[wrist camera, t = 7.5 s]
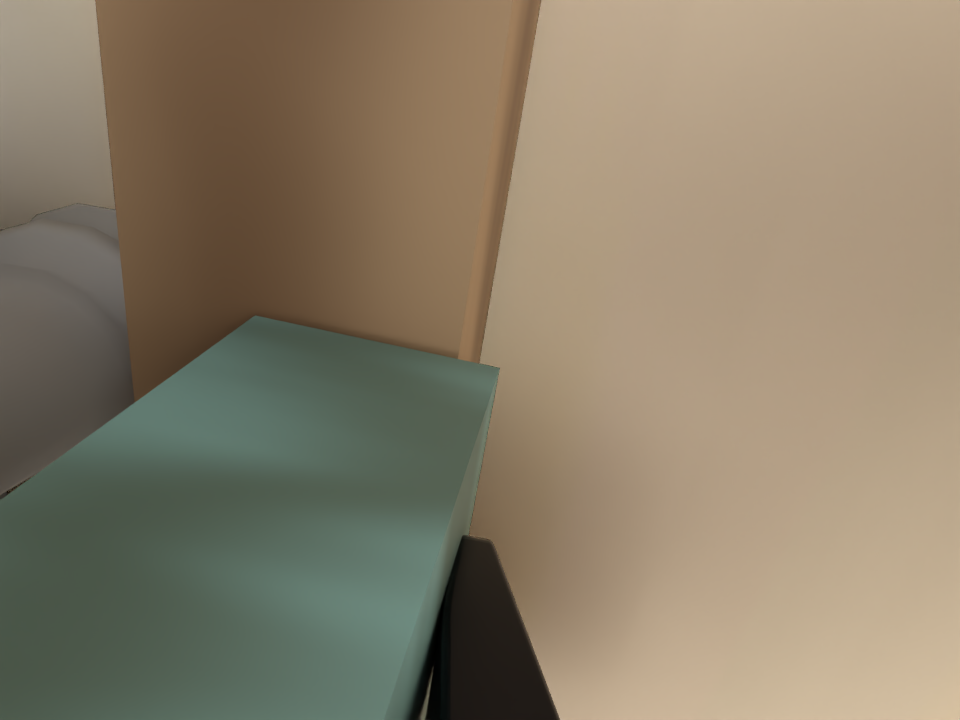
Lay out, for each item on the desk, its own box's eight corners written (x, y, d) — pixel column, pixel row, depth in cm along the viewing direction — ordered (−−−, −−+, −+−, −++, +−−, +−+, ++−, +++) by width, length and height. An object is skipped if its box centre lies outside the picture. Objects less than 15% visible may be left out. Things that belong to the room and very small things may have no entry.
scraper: (591, -42, 9) (515, -1007, 1) (455, 650, 15) (290, 1323, 7) (228, -98, 9) (-1991, -1073, 1) (239, 594, 16) (-150, 1167, 7)
